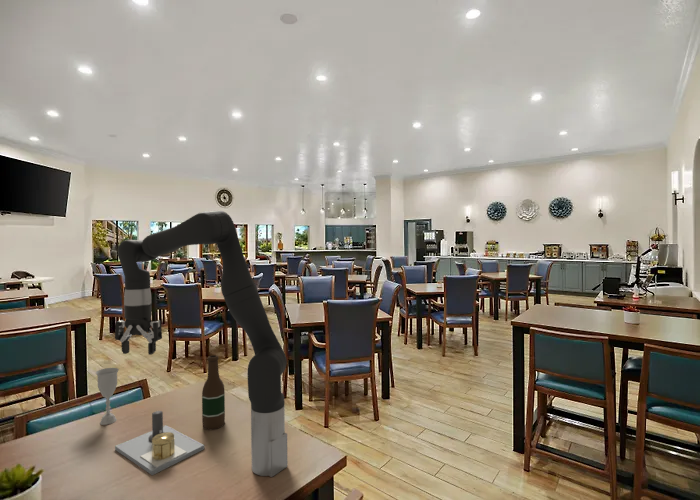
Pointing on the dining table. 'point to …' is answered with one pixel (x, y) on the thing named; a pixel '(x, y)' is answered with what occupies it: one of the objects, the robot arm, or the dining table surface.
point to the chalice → (107, 391)
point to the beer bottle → (213, 397)
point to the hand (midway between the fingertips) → (138, 353)
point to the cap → (163, 446)
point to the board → (142, 447)
